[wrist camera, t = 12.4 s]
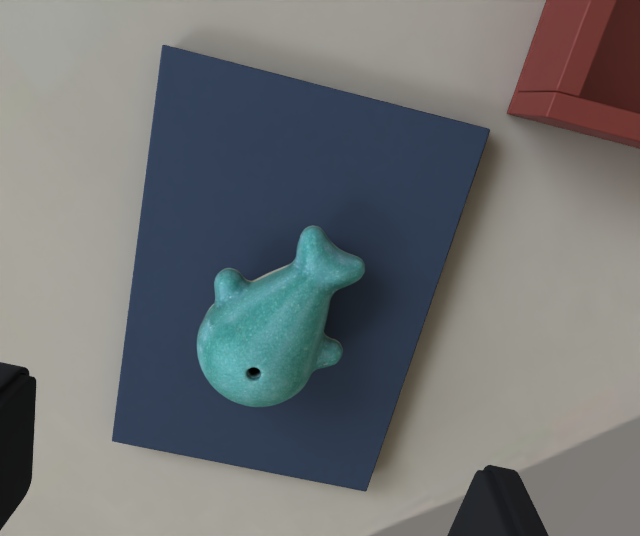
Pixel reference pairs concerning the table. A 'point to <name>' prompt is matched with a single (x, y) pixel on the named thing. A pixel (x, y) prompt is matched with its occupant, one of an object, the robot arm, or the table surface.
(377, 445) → the play mat
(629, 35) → the bin
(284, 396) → the whale figurine
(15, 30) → the table surface
